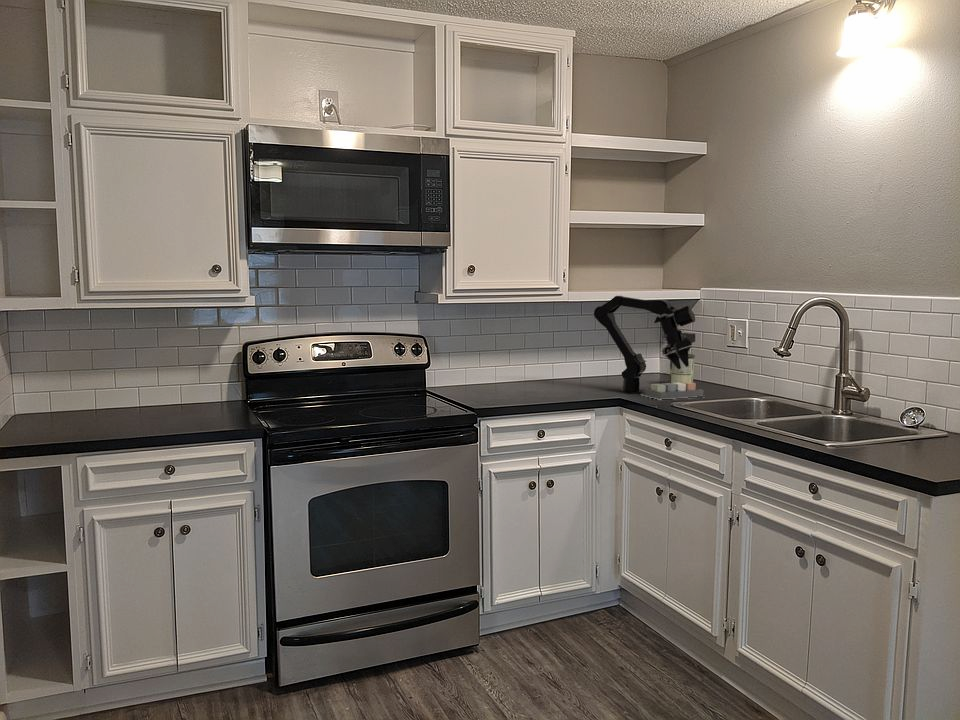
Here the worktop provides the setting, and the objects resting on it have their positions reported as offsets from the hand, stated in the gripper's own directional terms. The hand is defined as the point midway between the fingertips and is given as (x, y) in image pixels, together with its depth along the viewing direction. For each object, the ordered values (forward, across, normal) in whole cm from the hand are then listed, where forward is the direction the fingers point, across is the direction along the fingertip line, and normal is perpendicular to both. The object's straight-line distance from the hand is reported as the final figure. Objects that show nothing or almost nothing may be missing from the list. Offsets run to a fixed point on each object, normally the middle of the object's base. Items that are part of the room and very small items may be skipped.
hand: (683, 367), depth 309 cm
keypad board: (+10, +6, +6) cm, 13 cm away
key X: (+7, +5, +8) cm, 11 cm away
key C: (+8, +7, +3) cm, 11 cm away
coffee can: (+8, +32, -8) cm, 34 cm away
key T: (+9, +9, -2) cm, 13 cm away
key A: (+6, +2, +12) cm, 14 cm away
